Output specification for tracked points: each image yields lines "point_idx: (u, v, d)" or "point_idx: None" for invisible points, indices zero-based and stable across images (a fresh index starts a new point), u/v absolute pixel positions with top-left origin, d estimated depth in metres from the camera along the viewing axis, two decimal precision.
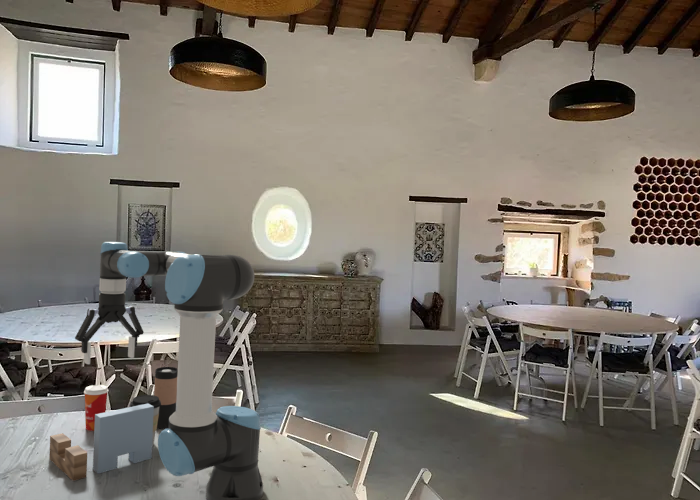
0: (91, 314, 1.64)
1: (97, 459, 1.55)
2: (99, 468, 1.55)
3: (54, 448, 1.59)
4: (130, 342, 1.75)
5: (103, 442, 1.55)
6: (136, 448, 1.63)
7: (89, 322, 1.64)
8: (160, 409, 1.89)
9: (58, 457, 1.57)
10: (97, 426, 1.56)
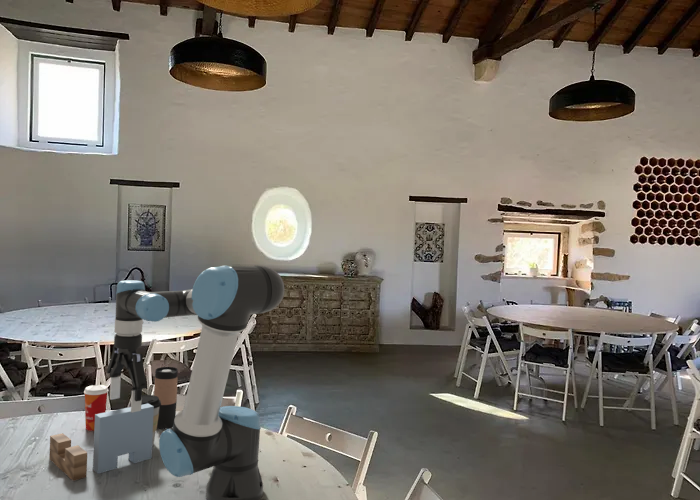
0: (113, 350, 1.64)
1: (97, 459, 1.55)
2: (99, 468, 1.55)
3: (54, 448, 1.59)
4: None
5: (103, 442, 1.55)
6: (136, 448, 1.63)
7: (112, 357, 1.65)
8: (160, 409, 1.89)
9: (58, 457, 1.57)
10: (97, 426, 1.56)
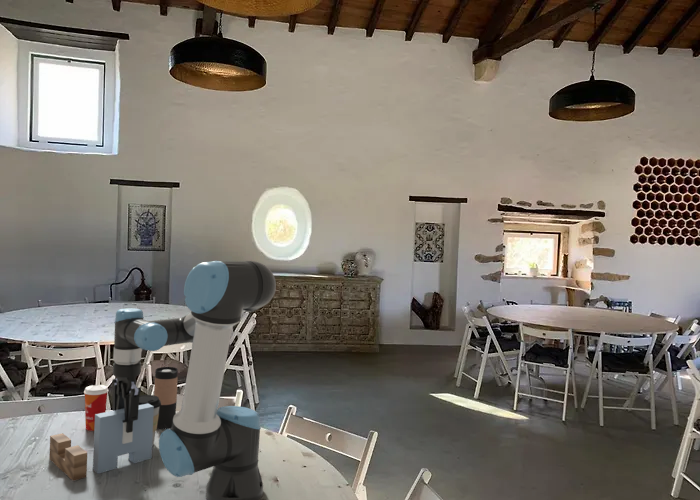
0: (113, 384, 1.64)
1: (97, 459, 1.55)
2: (99, 468, 1.55)
3: (54, 448, 1.59)
4: None
5: (103, 442, 1.55)
6: (136, 448, 1.63)
7: (114, 392, 1.64)
8: (160, 409, 1.89)
9: (58, 457, 1.57)
10: (97, 426, 1.56)
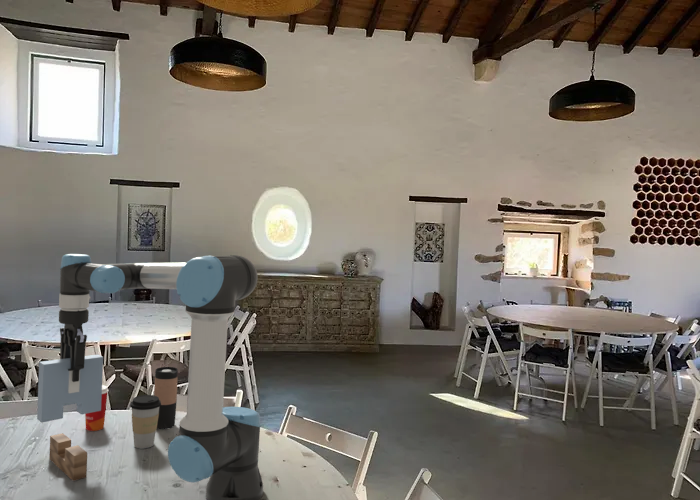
0: (60, 333, 1.59)
1: (41, 408, 1.50)
2: (43, 417, 1.50)
3: (54, 448, 1.59)
4: None
5: (46, 390, 1.50)
6: (84, 399, 1.58)
7: (61, 341, 1.58)
8: (160, 409, 1.89)
9: (58, 457, 1.57)
10: (40, 374, 1.50)
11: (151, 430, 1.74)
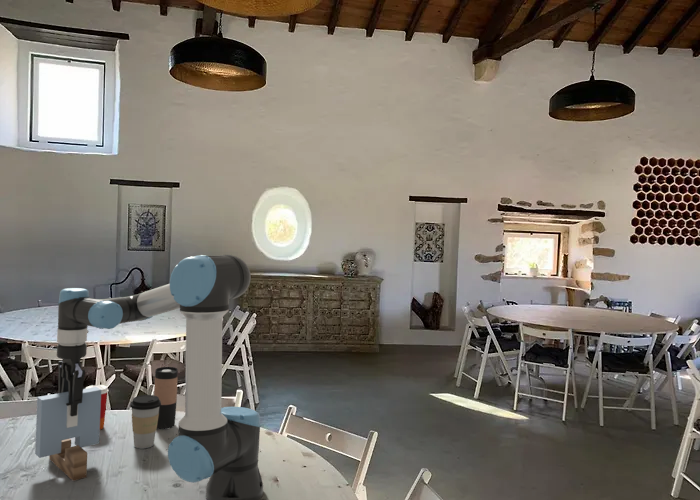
0: (58, 366, 1.59)
1: (39, 443, 1.50)
2: (41, 452, 1.50)
3: None
4: None
5: (45, 425, 1.50)
6: (82, 432, 1.58)
7: (59, 375, 1.59)
8: (160, 409, 1.89)
9: (58, 457, 1.57)
10: (39, 409, 1.51)
11: (151, 430, 1.74)
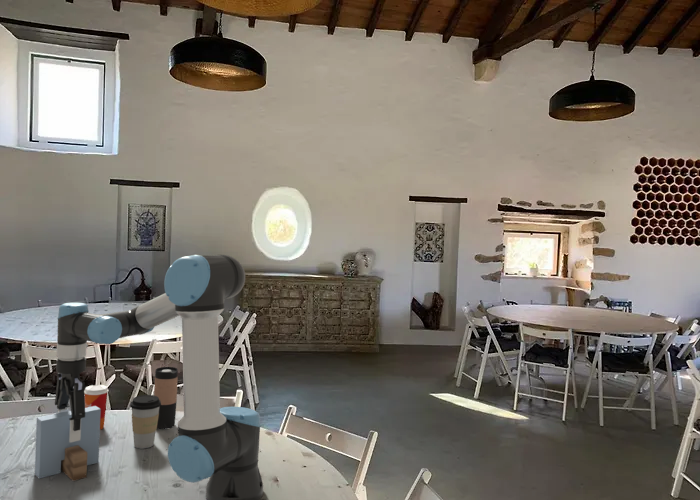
0: (57, 378, 1.60)
1: (38, 463, 1.50)
2: (40, 473, 1.50)
3: None
4: None
5: (44, 446, 1.51)
6: None
7: (57, 386, 1.60)
8: (160, 409, 1.89)
9: None
10: (38, 430, 1.51)
11: (151, 430, 1.74)
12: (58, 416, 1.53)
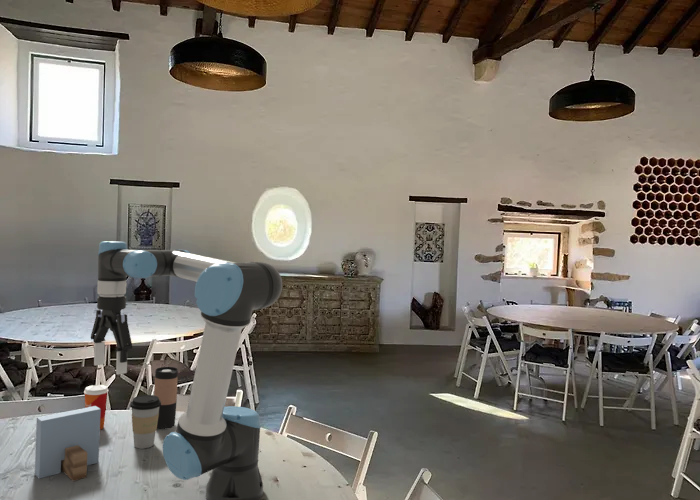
0: (96, 314, 1.61)
1: (38, 463, 1.50)
2: (40, 473, 1.50)
3: None
4: None
5: (44, 446, 1.51)
6: None
7: (95, 322, 1.61)
8: (160, 409, 1.89)
9: None
10: (38, 430, 1.51)
11: (151, 430, 1.74)
12: (58, 416, 1.53)
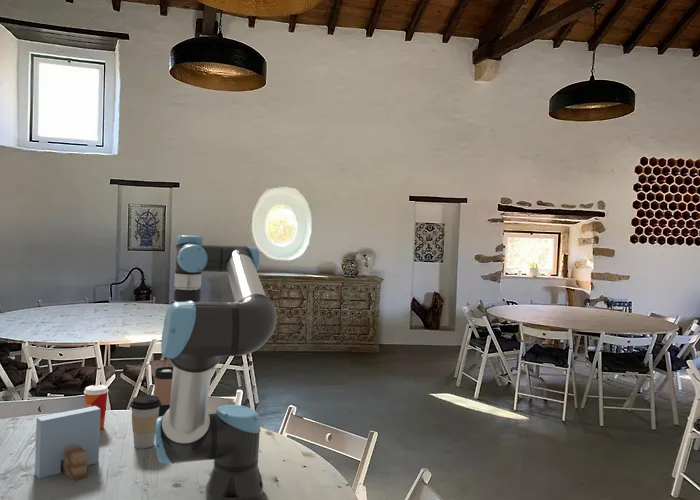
0: None
1: (38, 463, 1.50)
2: (40, 473, 1.50)
3: None
4: None
5: (44, 446, 1.51)
6: None
7: None
8: (160, 409, 1.89)
9: None
10: (38, 430, 1.51)
11: (151, 430, 1.74)
12: (58, 416, 1.53)
